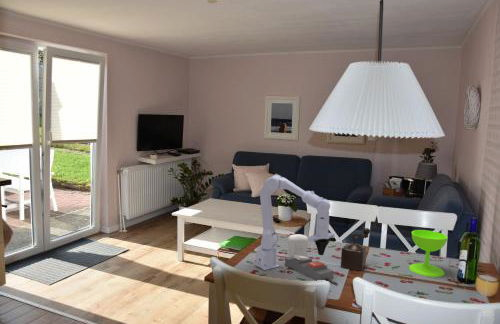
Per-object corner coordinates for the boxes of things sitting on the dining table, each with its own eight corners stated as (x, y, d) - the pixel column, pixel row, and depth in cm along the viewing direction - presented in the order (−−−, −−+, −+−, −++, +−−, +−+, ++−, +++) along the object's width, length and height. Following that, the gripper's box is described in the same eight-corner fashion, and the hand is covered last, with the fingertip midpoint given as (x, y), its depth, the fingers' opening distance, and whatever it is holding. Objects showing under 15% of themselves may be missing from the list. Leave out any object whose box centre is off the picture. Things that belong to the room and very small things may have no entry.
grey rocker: (299, 260, 189) (299, 257, 189) (293, 257, 192) (294, 255, 192) (308, 260, 193) (309, 258, 193) (303, 258, 196) (303, 255, 196)
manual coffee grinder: (363, 271, 191) (365, 235, 189) (340, 267, 196) (342, 231, 194) (369, 262, 205) (371, 227, 203) (347, 258, 210) (349, 224, 208)
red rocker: (313, 268, 181) (314, 265, 181) (307, 265, 184) (308, 262, 184) (324, 266, 185) (324, 263, 184) (317, 263, 188) (318, 260, 188)
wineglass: (401, 266, 200) (404, 231, 198) (426, 263, 206) (429, 229, 204) (425, 278, 185) (429, 240, 184) (452, 274, 191) (455, 238, 189)
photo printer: (305, 256, 210) (306, 233, 209) (307, 259, 206) (308, 235, 205) (286, 256, 209) (287, 233, 207) (288, 259, 204) (289, 235, 203)
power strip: (330, 287, 171) (331, 277, 171) (284, 264, 196) (285, 255, 196) (344, 283, 176) (344, 273, 176) (297, 262, 201) (298, 253, 201)
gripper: (316, 229, 177) (315, 259, 179) (339, 226, 186) (338, 254, 187) (306, 226, 183) (304, 255, 184) (328, 222, 191) (327, 250, 193)
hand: (320, 254), depth 186 cm, fingers closed
